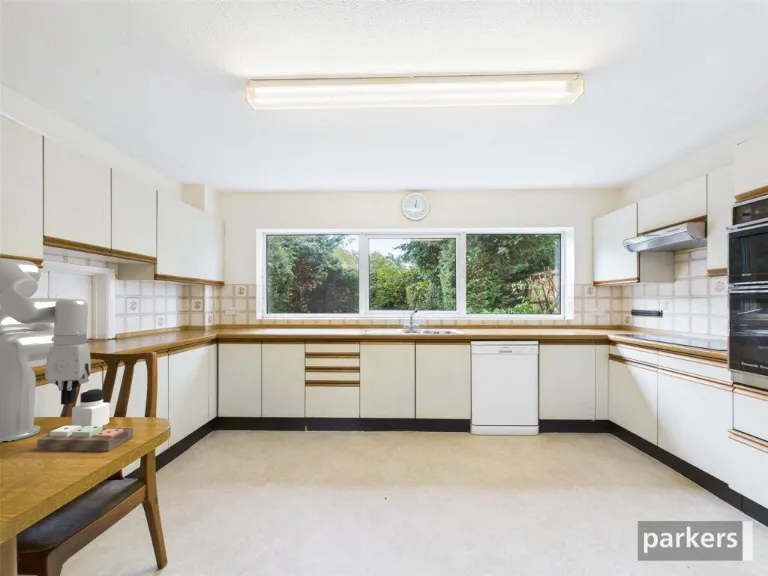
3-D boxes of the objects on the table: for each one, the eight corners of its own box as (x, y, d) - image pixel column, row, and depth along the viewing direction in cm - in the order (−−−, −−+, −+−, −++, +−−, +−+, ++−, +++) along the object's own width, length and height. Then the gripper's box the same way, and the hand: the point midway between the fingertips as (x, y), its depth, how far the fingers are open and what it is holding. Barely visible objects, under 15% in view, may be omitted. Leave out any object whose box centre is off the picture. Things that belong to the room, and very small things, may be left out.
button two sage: (71, 440, 106) (72, 431, 106) (85, 433, 111) (86, 425, 111) (89, 440, 106) (89, 431, 106) (102, 434, 111) (102, 425, 111)
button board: (37, 450, 103) (37, 439, 103) (67, 436, 113) (67, 426, 113) (108, 451, 103) (109, 440, 103) (132, 437, 113) (133, 428, 113)
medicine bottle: (109, 423, 125) (111, 388, 126) (90, 431, 118) (92, 393, 118) (90, 422, 126) (91, 387, 126) (70, 429, 119) (72, 392, 119)
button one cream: (49, 439, 106) (50, 431, 106) (64, 433, 111) (65, 425, 111) (67, 440, 106) (67, 431, 106) (81, 433, 111) (81, 425, 111)
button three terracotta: (93, 443, 106) (93, 434, 106) (106, 436, 111) (106, 428, 111) (111, 443, 106) (111, 435, 106) (123, 437, 111) (123, 428, 111)
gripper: (33, 342, 105) (30, 406, 105) (85, 342, 105) (83, 407, 105) (56, 339, 113) (54, 399, 112) (105, 339, 113) (103, 400, 112)
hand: (68, 403), depth 108 cm, fingers closed
